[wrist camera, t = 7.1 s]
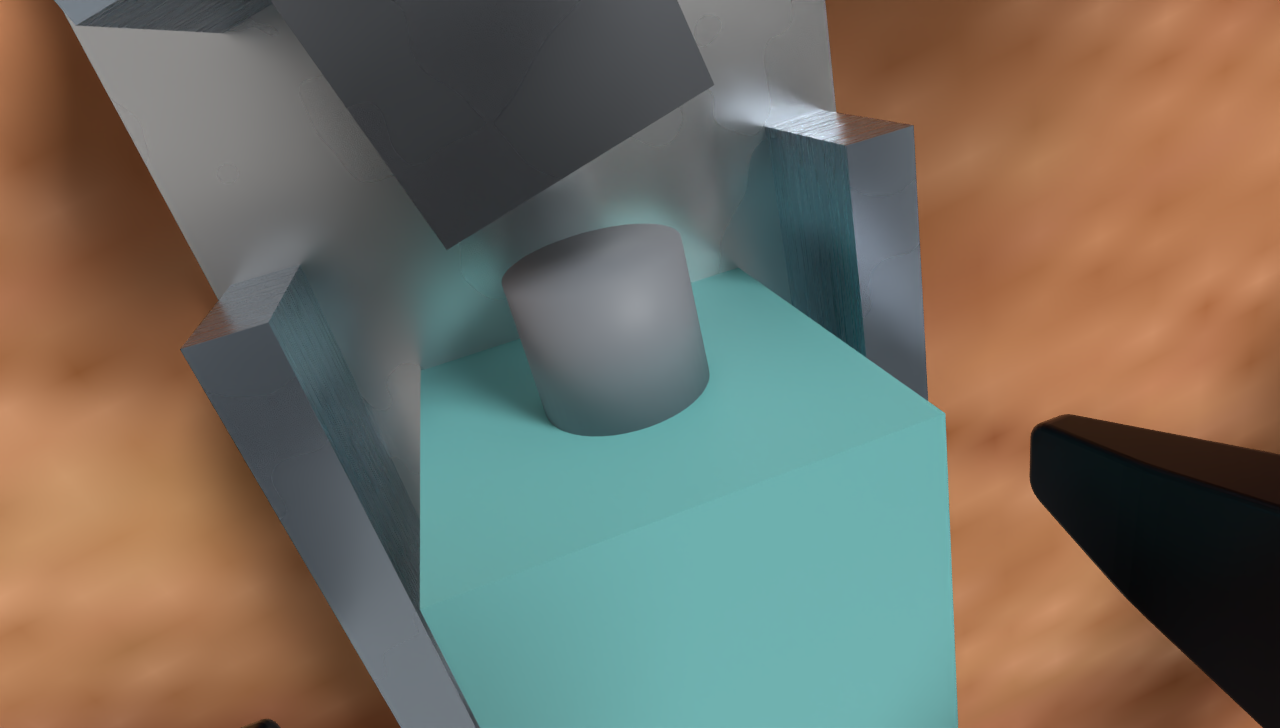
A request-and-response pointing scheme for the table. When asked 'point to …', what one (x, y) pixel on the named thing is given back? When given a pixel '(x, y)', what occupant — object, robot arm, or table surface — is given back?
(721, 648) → the coupler
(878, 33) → the table surface
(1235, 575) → the robot arm
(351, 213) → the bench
